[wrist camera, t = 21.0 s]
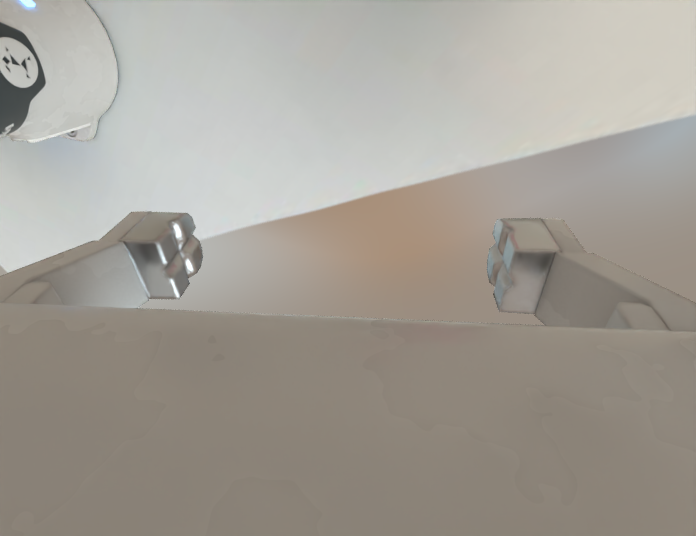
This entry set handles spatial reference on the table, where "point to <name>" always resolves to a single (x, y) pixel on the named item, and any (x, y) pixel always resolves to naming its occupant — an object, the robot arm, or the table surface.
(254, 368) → the robot arm
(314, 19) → the table surface
